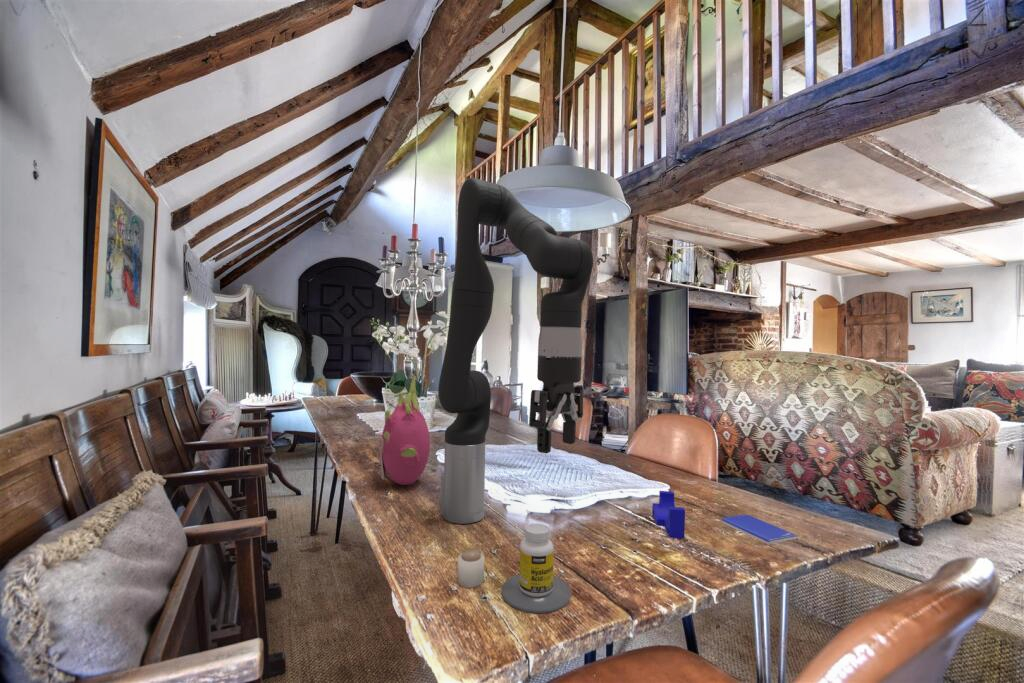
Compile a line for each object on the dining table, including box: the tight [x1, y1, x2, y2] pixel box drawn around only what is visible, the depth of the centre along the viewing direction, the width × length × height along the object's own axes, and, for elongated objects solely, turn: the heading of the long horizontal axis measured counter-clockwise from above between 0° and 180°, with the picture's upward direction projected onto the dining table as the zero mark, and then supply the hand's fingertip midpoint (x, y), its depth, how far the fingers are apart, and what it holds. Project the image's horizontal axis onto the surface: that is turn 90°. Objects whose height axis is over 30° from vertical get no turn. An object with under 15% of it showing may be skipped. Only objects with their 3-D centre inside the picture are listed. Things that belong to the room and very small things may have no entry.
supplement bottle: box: [519, 523, 555, 597], centre depth 75 cm, size 5×5×10 cm
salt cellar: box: [457, 547, 485, 589], centre depth 79 cm, size 4×4×5 cm
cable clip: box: [651, 490, 686, 539], centre depth 103 cm, size 12×4×6 cm, turn 173°
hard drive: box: [721, 514, 799, 545], centre depth 101 cm, size 2×8×12 cm
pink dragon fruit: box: [379, 375, 431, 486], centre depth 129 cm, size 18×14×30 cm
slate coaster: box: [501, 573, 572, 614], centre depth 75 cm, size 11×11×1 cm
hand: (556, 447), depth 81 cm, fingers open, 8 cm apart
